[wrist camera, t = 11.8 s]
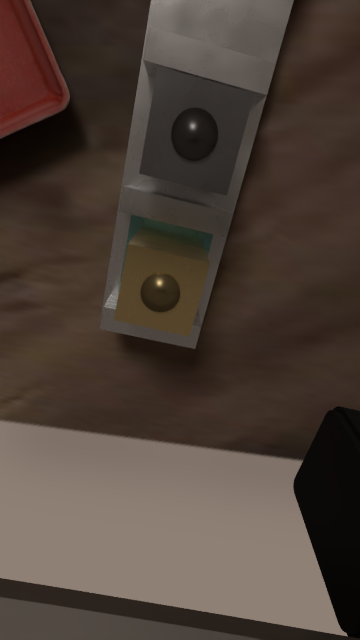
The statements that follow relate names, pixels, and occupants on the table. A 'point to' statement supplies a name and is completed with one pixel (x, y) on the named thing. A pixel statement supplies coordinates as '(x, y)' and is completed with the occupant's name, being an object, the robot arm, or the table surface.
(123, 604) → the robot arm
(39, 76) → the plant saucer
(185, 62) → the rail
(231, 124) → the dark knobbed cube
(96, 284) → the table surface
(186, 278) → the yellow tall block
